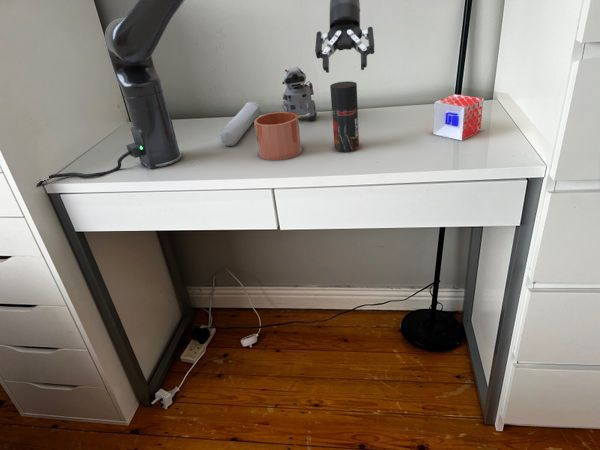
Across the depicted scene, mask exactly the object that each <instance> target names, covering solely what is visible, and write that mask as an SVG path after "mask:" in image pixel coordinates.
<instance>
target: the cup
mask: <svg viewBox="0 0 600 450" xmlns="http://www.w3.org/2000/svg"><path fill="white" fill-rule="evenodd" d="M253 123H254V130H255V135H256V136H255V137H256V143H257V148H258V153H259V157H260V158H262V159H263V160H268V161H283V160H288V159H292V158H294V157H297V156H298V155H300V153H301V152H302V141H301V133H300V122H299V116H298V115H297V114H295V113H292V112H284V111H275V112H270V113H269V112H268V113H265V114H262V115H259V116H258V118H256V119H255V121H254V122H253Z"/></svg>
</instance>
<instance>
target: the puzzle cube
mask: <svg viewBox="0 0 600 450" xmlns="http://www.w3.org/2000/svg"><path fill="white" fill-rule="evenodd" d="M484 100H485V98H484V97H478V96H477V97H476V96H471V95H465V94H456V93H453V94H451V95H449V96H445V97H444V98H441V99H439V100H437V101H434V104H433V105H434V109H433V128H432V129H433V130H432V134H433V135H436V136H439V137H444V138H449V139H454V140H458V141H463V140H465V139H468V138H469V137H471V136H473V135H475V134H478V133H479V132H481V131H482V130H481V129H482V121H483V110H484V102H485V101H484Z"/></svg>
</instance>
